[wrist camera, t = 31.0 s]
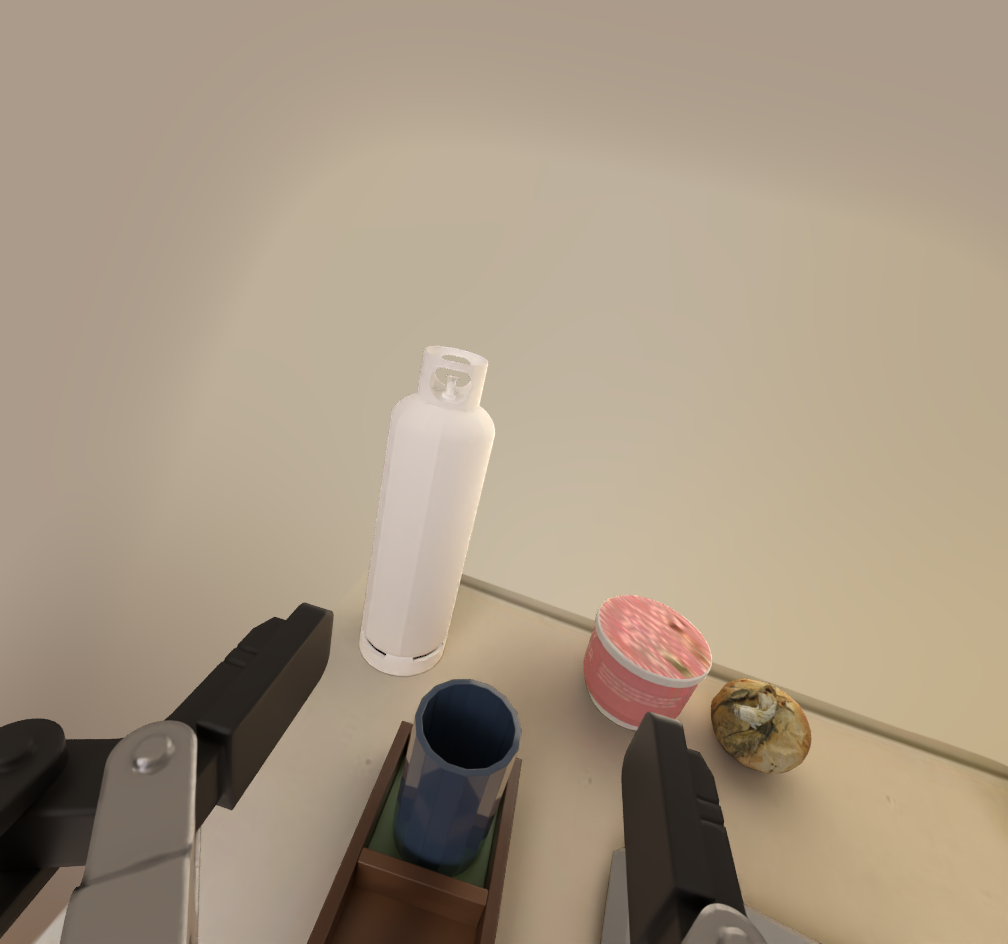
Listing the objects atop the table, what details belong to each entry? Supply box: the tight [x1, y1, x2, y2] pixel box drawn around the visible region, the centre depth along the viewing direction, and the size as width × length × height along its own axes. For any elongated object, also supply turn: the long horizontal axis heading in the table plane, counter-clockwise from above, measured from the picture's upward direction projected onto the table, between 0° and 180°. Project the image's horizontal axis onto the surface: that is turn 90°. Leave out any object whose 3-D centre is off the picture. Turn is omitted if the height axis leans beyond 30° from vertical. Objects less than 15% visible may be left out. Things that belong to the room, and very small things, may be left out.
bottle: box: [359, 346, 495, 676], centre depth 41 cm, size 8×8×28 cm
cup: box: [392, 679, 522, 877], centre depth 30 cm, size 6×6×10 cm
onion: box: [711, 678, 811, 774], centre depth 43 cm, size 8×8×8 cm
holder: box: [307, 721, 522, 944], centre depth 28 cm, size 9×18×3 cm, turn 170°
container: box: [584, 595, 712, 730], centre depth 45 cm, size 10×10×8 cm
